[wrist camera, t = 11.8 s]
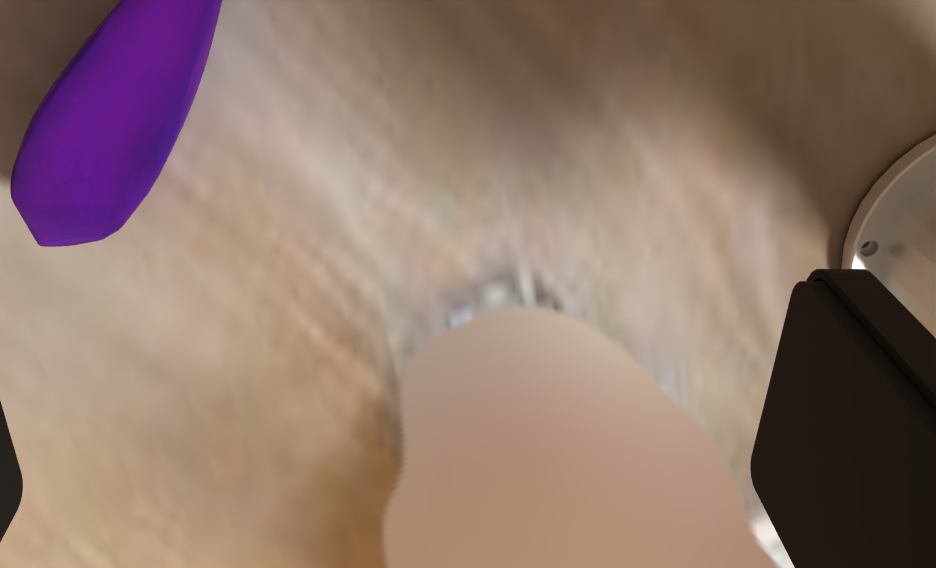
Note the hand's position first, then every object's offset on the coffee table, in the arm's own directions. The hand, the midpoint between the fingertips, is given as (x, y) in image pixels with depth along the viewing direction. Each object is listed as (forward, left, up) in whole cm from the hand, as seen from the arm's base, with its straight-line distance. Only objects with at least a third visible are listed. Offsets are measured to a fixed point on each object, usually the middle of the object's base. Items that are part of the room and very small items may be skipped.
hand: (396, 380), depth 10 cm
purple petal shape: (+10, +5, -28) cm, 30 cm away
